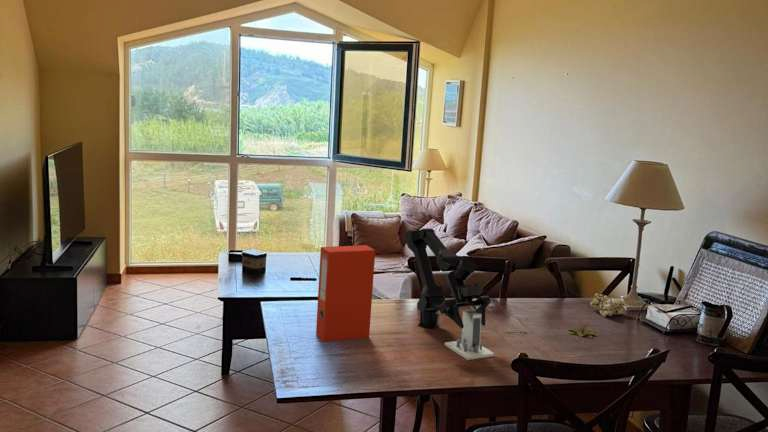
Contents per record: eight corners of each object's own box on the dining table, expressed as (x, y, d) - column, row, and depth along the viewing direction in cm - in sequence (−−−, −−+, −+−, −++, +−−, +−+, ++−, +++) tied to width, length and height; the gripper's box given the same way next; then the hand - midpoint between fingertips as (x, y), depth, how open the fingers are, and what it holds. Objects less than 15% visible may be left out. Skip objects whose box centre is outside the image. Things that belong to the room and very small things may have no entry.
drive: (461, 346, 232) (462, 310, 231) (469, 344, 234) (471, 310, 233) (471, 350, 227) (472, 314, 226) (479, 349, 229) (481, 314, 227)
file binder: (369, 337, 237) (375, 250, 232) (324, 342, 229) (329, 252, 224) (360, 330, 244) (365, 244, 239) (315, 334, 236) (320, 246, 231)
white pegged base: (444, 345, 235) (445, 335, 234) (470, 341, 240) (471, 332, 239) (467, 359, 223) (468, 349, 222) (493, 356, 228) (494, 346, 227)
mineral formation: (606, 319, 277) (580, 306, 290) (627, 321, 284) (601, 308, 297) (611, 301, 276) (585, 289, 289) (633, 303, 283) (607, 291, 295)
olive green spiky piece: (563, 335, 255) (564, 324, 254) (569, 326, 266) (571, 315, 265) (595, 342, 250) (597, 330, 249) (600, 333, 261) (602, 322, 260)
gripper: (446, 277, 226) (461, 318, 218) (490, 273, 235) (507, 313, 227) (432, 293, 234) (446, 333, 226) (475, 289, 243) (491, 328, 235)
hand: (473, 326), depth 228 cm, fingers open, 9 cm apart
